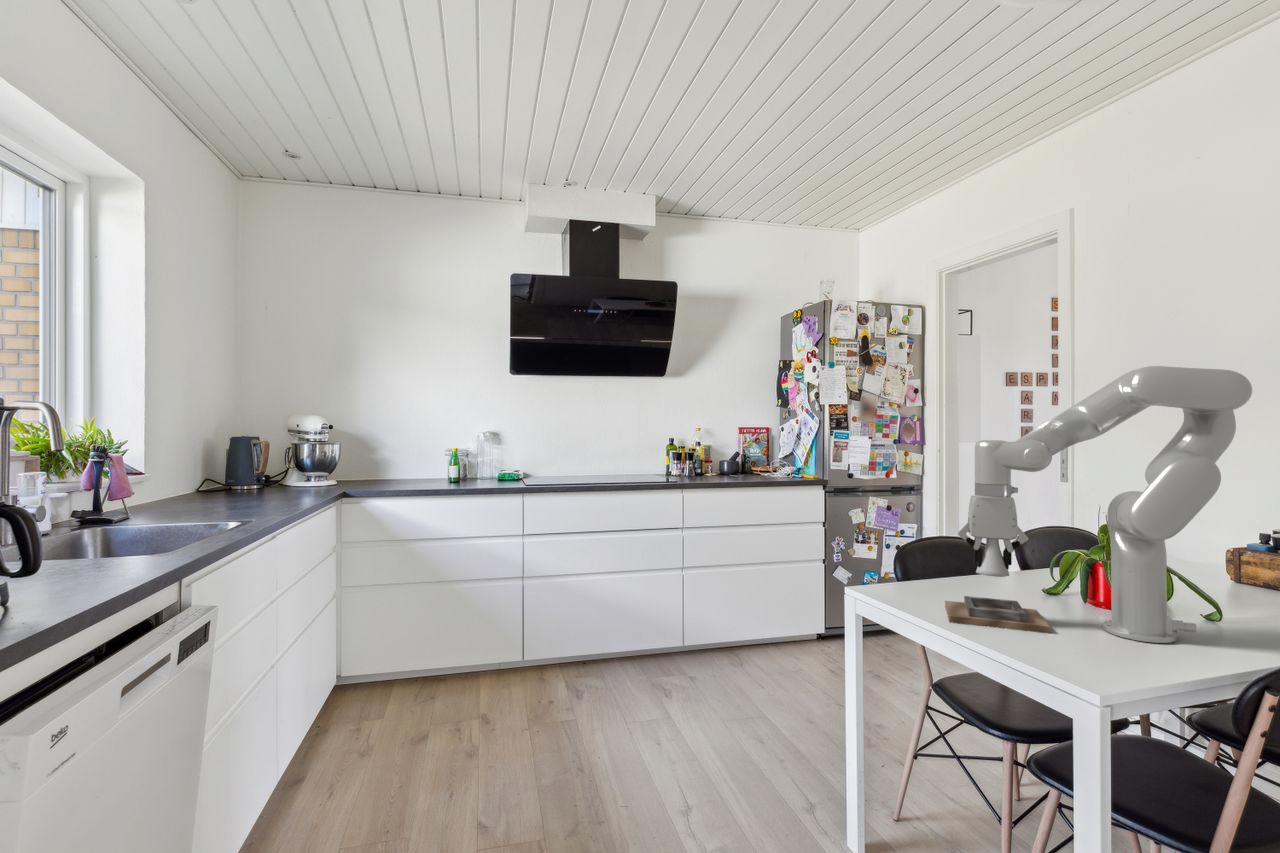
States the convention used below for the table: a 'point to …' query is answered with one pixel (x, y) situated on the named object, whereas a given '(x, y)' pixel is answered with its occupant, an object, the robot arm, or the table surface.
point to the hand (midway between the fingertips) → (992, 566)
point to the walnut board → (995, 614)
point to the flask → (992, 560)
